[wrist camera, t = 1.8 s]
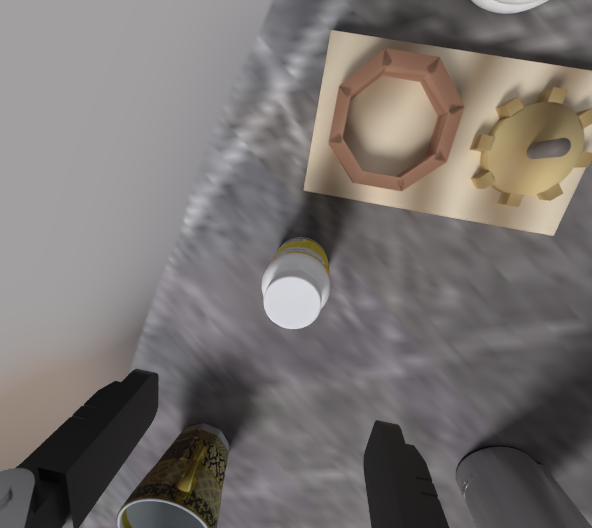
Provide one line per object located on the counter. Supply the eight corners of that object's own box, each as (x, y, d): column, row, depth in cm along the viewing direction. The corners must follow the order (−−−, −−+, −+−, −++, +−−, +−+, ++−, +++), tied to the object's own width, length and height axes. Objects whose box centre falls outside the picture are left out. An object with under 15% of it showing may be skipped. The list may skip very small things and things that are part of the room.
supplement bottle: (310, 295, 29) (303, 351, 20) (266, 269, 28) (238, 313, 19) (339, 254, 27) (347, 293, 18) (292, 225, 27) (276, 250, 18)
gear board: (612, 81, 21) (692, 55, 17) (542, 233, 25) (592, 245, 20) (330, 37, 22) (332, 0, 17) (304, 190, 26) (300, 192, 21)
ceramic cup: (228, 479, 38) (197, 578, 29) (161, 452, 38) (108, 543, 29) (260, 414, 34) (235, 504, 25) (186, 384, 34) (132, 464, 25)
